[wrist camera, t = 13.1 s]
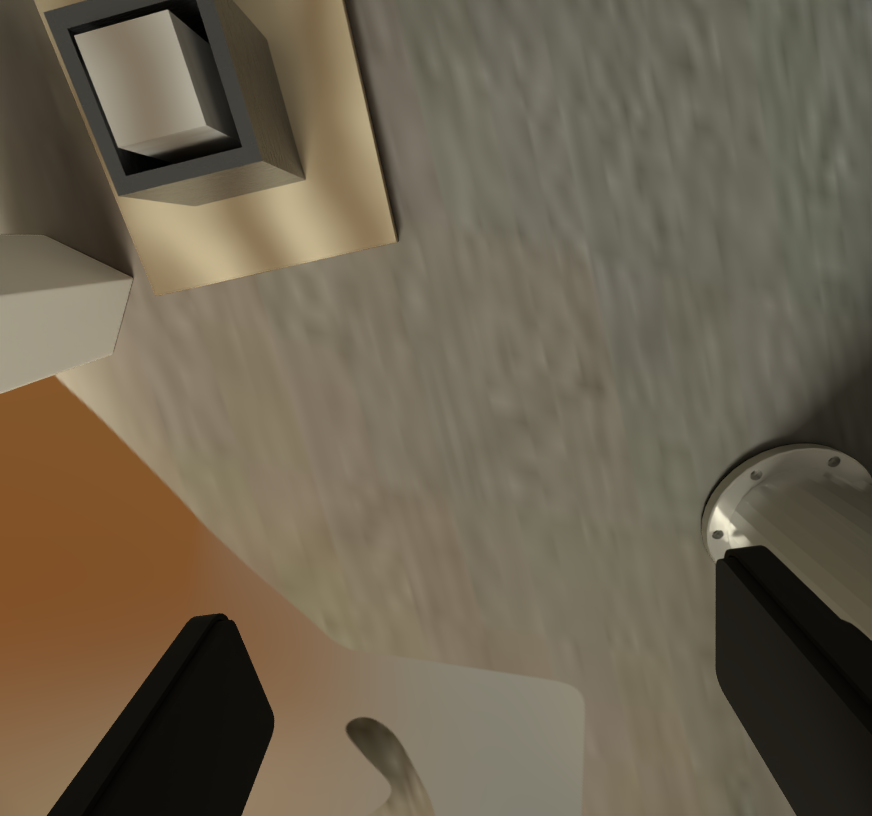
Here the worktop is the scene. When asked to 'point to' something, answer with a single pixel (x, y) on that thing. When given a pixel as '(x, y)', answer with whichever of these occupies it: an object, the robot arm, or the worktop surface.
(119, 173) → the square metal tube
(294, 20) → the post board
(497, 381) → the worktop surface
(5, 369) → the milk
